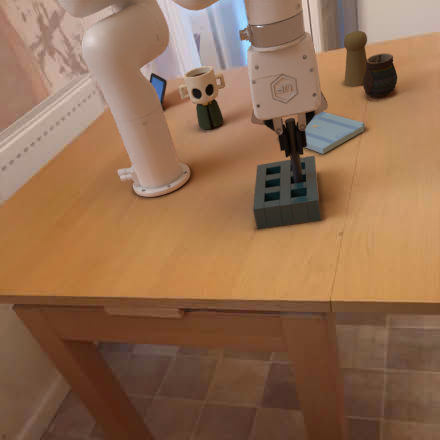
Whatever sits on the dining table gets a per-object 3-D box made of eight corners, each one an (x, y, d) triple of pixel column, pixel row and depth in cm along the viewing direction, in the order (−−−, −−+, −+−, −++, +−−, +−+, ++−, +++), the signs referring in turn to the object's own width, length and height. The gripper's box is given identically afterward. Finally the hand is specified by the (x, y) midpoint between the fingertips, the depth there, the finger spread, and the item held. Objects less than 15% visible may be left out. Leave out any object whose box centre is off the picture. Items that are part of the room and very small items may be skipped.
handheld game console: (127, 110, 141) (118, 85, 136) (159, 97, 143) (151, 71, 138) (140, 120, 132) (131, 94, 127) (175, 106, 134) (167, 79, 129)
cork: (373, 75, 116) (372, 27, 109) (364, 86, 113) (363, 36, 106) (349, 76, 119) (347, 29, 112) (340, 86, 116) (337, 38, 109)
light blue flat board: (367, 129, 96) (367, 123, 96) (323, 154, 93) (322, 148, 92) (321, 116, 106) (321, 110, 105) (280, 138, 102) (279, 133, 102)
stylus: (295, 194, 82) (284, 123, 73) (295, 190, 83) (284, 119, 75) (304, 193, 82) (295, 121, 73) (304, 188, 83) (294, 117, 74)
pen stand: (257, 229, 80) (252, 209, 77) (260, 183, 90) (257, 164, 88) (321, 220, 77) (318, 199, 75) (316, 174, 88) (314, 155, 85)
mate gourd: (392, 85, 109) (392, 39, 103) (401, 97, 104) (402, 48, 97) (360, 92, 111) (359, 47, 104) (367, 104, 105) (366, 57, 98)
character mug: (191, 137, 115) (176, 83, 106) (190, 126, 120) (175, 73, 112) (235, 124, 114) (222, 69, 106) (231, 114, 120) (219, 60, 111)
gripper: (219, 51, 65) (246, 171, 77) (336, 24, 61) (345, 154, 73) (225, 36, 70) (249, 150, 82) (332, 10, 66) (341, 133, 78)
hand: (294, 151), depth 77 cm, fingers closed on stylus
